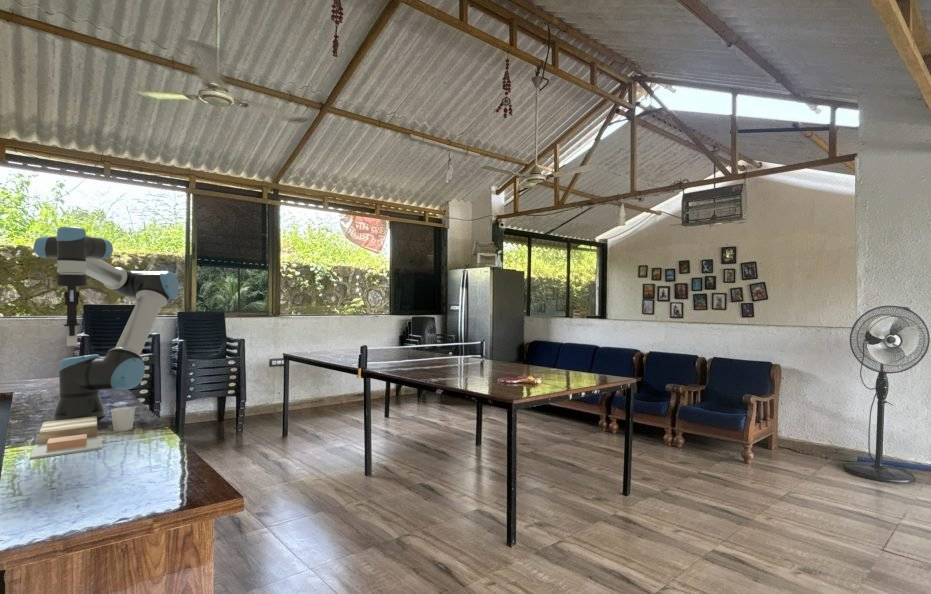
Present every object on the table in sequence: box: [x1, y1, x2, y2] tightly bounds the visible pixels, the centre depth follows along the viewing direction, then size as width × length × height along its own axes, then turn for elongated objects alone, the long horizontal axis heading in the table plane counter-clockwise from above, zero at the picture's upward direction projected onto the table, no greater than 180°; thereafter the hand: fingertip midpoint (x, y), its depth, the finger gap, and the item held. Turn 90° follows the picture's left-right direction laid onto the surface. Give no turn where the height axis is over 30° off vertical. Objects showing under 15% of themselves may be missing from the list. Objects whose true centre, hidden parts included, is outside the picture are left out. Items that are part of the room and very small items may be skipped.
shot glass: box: [110, 406, 136, 432], centre depth 169 cm, size 7×7×7 cm
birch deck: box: [38, 416, 98, 445], centre depth 160 cm, size 16×14×4 cm
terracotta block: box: [47, 434, 87, 451], centre depth 147 cm, size 6×9×2 cm, turn 127°
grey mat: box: [29, 436, 103, 460], centre depth 147 cm, size 14×16×1 cm
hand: (72, 345), depth 163 cm, fingers closed
